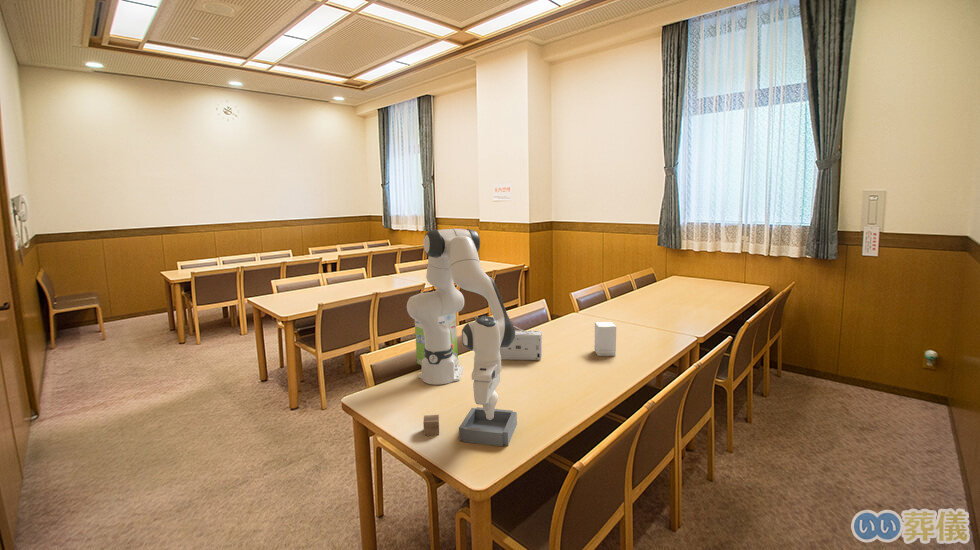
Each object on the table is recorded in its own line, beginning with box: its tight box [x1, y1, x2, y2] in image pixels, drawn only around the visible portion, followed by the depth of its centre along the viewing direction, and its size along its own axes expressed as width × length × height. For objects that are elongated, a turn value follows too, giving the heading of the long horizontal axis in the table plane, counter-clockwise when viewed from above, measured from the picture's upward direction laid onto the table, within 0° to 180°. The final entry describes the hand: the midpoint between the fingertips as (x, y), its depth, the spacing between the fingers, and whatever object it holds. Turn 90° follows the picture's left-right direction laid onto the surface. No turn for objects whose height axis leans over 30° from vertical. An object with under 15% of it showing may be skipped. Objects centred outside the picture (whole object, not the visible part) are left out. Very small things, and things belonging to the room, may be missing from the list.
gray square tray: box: [458, 406, 518, 447], centre depth 156 cm, size 16×16×4 cm
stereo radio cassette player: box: [500, 325, 543, 361], centre depth 227 cm, size 21×8×20 cm, turn 84°
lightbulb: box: [485, 389, 499, 420], centre depth 156 cm, size 6×6×11 cm
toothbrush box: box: [414, 312, 459, 367], centre depth 222 cm, size 18×10×24 cm, turn 130°
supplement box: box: [593, 321, 617, 357], centre depth 232 cm, size 9×9×15 cm
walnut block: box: [422, 414, 440, 437], centre depth 157 cm, size 5×5×5 cm
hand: (488, 406), depth 155 cm, fingers closed on lightbulb, 5 cm apart
